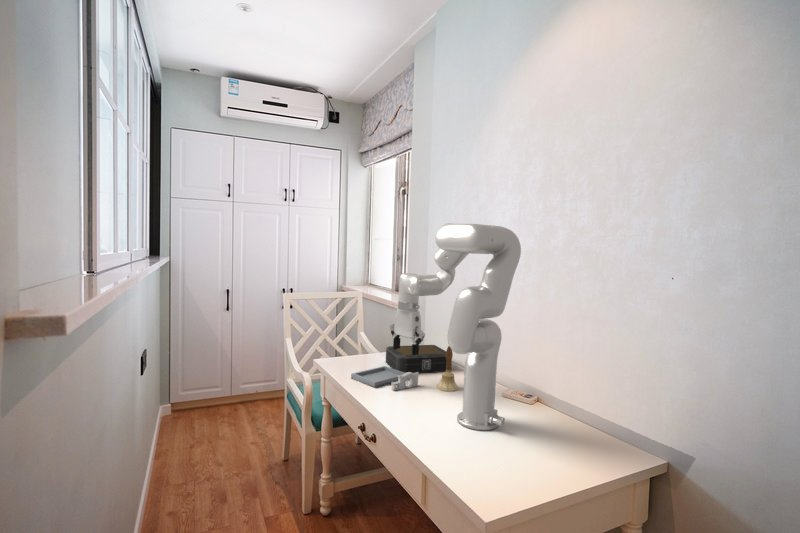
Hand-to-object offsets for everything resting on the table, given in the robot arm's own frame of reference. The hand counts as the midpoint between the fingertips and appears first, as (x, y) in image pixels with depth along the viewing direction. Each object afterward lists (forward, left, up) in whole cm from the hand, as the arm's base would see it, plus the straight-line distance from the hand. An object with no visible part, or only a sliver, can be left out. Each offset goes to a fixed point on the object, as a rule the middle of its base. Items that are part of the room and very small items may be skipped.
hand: (405, 351), depth 157 cm
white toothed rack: (-1, 0, -14) cm, 14 cm away
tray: (+13, 0, -14) cm, 19 cm away
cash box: (+16, -25, -14) cm, 33 cm away
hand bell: (-11, -13, -14) cm, 22 cm away
